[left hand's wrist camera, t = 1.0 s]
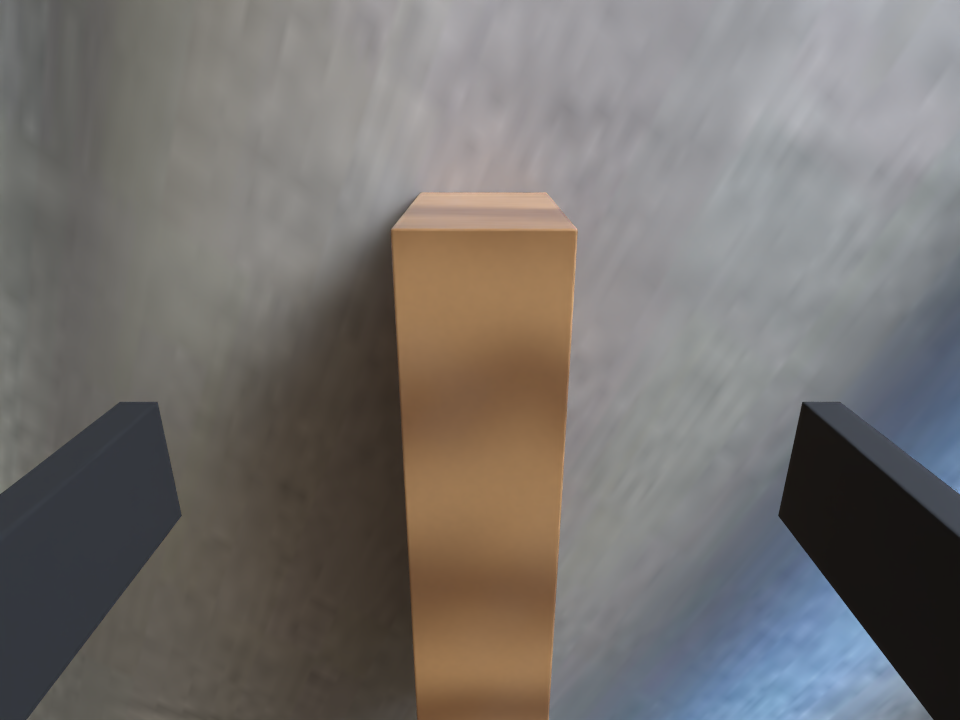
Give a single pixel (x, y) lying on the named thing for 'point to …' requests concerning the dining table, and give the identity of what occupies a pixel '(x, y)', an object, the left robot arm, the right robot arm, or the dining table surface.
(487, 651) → the bar
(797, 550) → the dining table surface
